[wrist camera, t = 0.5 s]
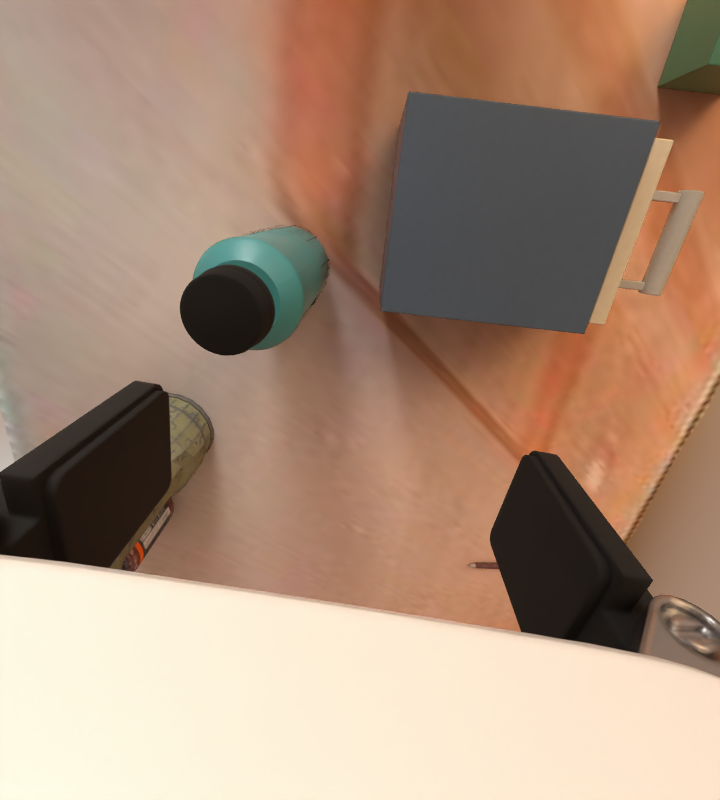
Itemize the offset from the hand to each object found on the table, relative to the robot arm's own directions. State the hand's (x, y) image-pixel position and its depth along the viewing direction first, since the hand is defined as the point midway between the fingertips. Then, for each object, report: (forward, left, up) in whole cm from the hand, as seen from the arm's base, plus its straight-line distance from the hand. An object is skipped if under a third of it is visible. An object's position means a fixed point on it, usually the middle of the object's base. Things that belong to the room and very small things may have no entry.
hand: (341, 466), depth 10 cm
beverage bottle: (-1, -6, -29) cm, 30 cm away
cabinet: (-6, +9, -29) cm, 31 cm away
